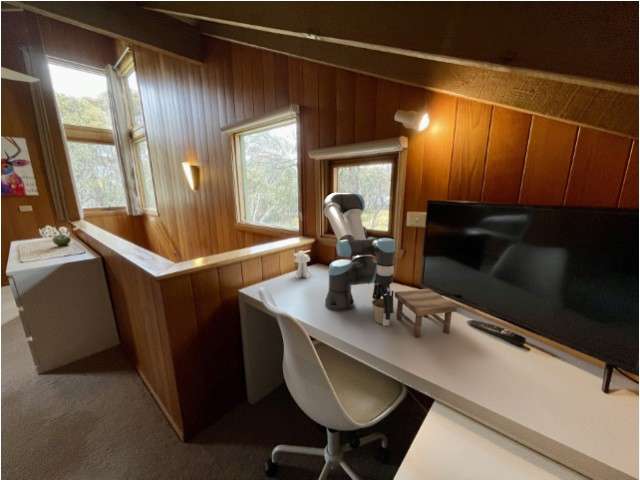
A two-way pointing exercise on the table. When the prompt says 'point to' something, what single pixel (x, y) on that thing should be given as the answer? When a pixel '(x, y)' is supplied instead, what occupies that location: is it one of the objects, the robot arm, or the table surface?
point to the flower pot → (378, 310)
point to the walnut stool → (424, 308)
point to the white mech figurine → (302, 264)
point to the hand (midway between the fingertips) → (381, 319)
